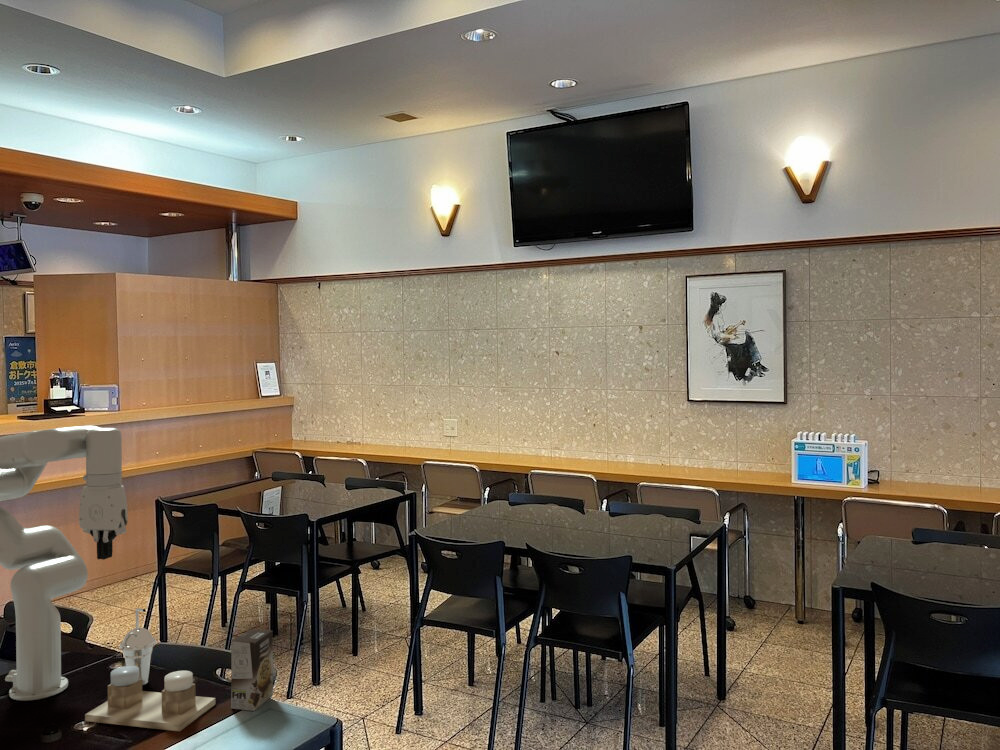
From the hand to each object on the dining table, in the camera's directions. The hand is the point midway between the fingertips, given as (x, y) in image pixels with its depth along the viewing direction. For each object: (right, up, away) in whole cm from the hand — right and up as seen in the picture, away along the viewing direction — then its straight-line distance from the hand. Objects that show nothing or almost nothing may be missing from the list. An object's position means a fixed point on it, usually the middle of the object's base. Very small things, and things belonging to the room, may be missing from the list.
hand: (104, 557), depth 186 cm
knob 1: (+6, -33, -2) cm, 34 cm away
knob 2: (+19, -33, -5) cm, 39 cm away
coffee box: (+34, -35, +3) cm, 49 cm away
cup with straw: (+2, -35, +14) cm, 38 cm away
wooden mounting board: (+13, -35, -3) cm, 37 cm away
